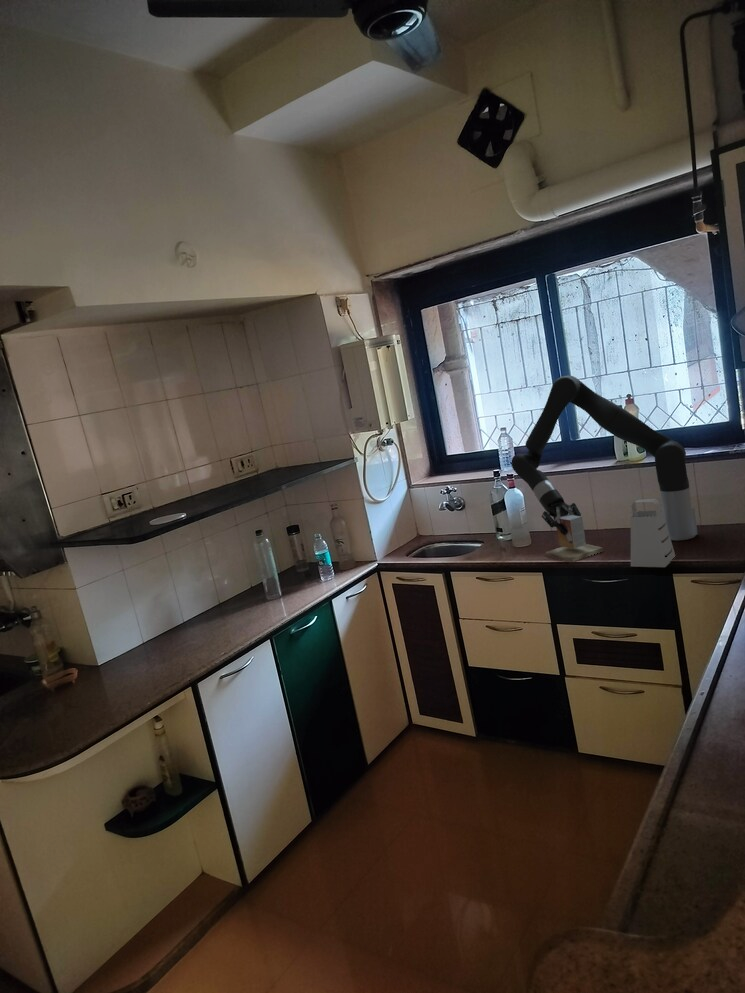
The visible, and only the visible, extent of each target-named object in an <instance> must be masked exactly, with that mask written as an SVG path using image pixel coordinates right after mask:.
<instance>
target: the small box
mask: <svg viewBox="0 0 745 993" xmlns="http://www.w3.org/2000/svg"><path fill="white" fill-rule="evenodd" d="M555 519H556V518H555ZM559 519H560V521H561V524H563V525H564V527H565V528H566V530H567V531H568V532H567V534H566V535H563V534H562V533H561V532H560V531H559V529H558V528H557V527H556V533H557V540H558V546H559V547H563V546H564V547H568V548H572V549H575V548H578V547H581V546H584V545H586V544H587V543H586V536H585V528H584V527H585V526H584V521H583V516H582V515H581V516H574V515H569V514H568V515H566V516H562V517H561V518H559Z"/></svg>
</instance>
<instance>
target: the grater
mask: <svg viewBox="0 0 745 993" xmlns="http://www.w3.org/2000/svg"><path fill="white" fill-rule="evenodd" d="M651 502H652V503H653V504H654V506H655V510H639V511H637V503H651ZM631 513H632V515H631V517H630V567H636V568H638V567H640V568H642V567H643V568H666V567H667V566H668V565H669V564H670V563H671V562H672V561H673V560H674V559H675V558H676V557H675V556H676V554H675V550H674V546H673V543H672V540H671V538H670V535H669V531H668V528H667V524H666V521H665V517H664V514H663V509H662V510H661V504H660V501H659V500H658V499H657V498H648V499H647V498H645V499H636V500H635V501H633V503H632V505H631ZM665 556H667V557H665ZM674 557H675V558H674ZM673 558H674V559H673ZM672 559H673V560H672ZM671 560H672V561H671ZM670 561H671V562H670Z"/></svg>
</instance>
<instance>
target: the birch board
mask: <svg viewBox="0 0 745 993" xmlns="http://www.w3.org/2000/svg"><path fill="white" fill-rule="evenodd" d="M603 551H604V547H602V546H596V545H593V544H589V543H586V545H584V546H581V547H578V548H575V549H572V548H568V547H564V546H559V547H557V548H555V549H554V548H553V549H551V550H548V551H545V556H546V557H548V556H549V557H548V558H551V557H553V558H552V559H555V558H556V560H559V559H560V561H563V560H564V562H567V563H574V562H577V561H580V560H582V559H586V558H588V556H589V557H592V556H595V555H598V554H601V553H604V552H603ZM600 552H601V553H600ZM597 553H598V554H597ZM594 554H595V555H594ZM591 555H592V556H591ZM579 559H580V560H579ZM576 560H577V561H576ZM573 561H574V562H573Z"/></svg>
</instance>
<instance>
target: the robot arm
mask: <svg viewBox="0 0 745 993" xmlns="http://www.w3.org/2000/svg"><path fill="white" fill-rule="evenodd" d="M570 403H571V404H573V405H574V406H576V407H578V408H580V409H582V410H583V411H584V412H585V413H587V415H589V416H590V417H591V419H592V420H594V422H595V423H596V424H598V426H600V427H601V428H602V429H603V430H605V431H607V432H608V433H610V434H611V435H613V436H614V437H616V438H618V439H620V440H623V441H625V442H626V443H630V444H632V445H635V446H637V447H639V448H641V449H643V450H644V451H646V452H647V453H649V455H651V456H652V457H654V464H655V470H656V478H657V482H658V486H659V494H660V499H661V500H660V501H661V507H662V508H661V509H662V510H663V514H664V517H665V521H666V524H667V528H668V531H669V535H670V538H671V541H685V540H690V539H693V538H695V537H696V536H697V535H698V527H697V526H698V524H697V519H696V518H697V517H696V511H695V510H696V509H695V508H694V507H693V506H692V498H691V491H690V481H689V477H688V472H687V466H686V464H687V463H686V456H687V453H686V452H687V451H686V449H685V447H684V446H683V445H682V444H681V443H679V442H678V441H675V440H674V439H672V438H670V437H667V436H666V435H664V434H661V432H658V431H656V430H655V429H653V428H652V427H650V426H649V425H647V423H646V422H644V421H642V420H641V419H640V418H638V417H637V416H635V415H633V413H631V412H629V411H627V409H624V408H623V407H621V406H620V405H618V404H616V403H614V402H613V401H611V400H609V399H607V398H606V397H603V396H601V395H600V394H598V393H596V392H595V391H593V389H591V388H590V387H588V386H587V385H586V384H585V383H583V382H582V381H581V380H580V379H578V378H577V377H575V376H574V375H564V376H560V377H558V378H557V379H556V380H554V381H553V383H552V385H551V389H550V392H549V394H548V397H547V400H546V403H545V405H544V408H543V409H542V412H541V414H540V416H539V418H538V419H537V421H536V423H535V424H534V426H533V429H532V430H531V432H530V434H529V435H528V437H527V439H526V441H525V447H526V448H527V449H528V452H527V454H526V453H516V454H514V455H513V457H512V458H511V461H510V463H511V468H512V470H513V472H515V474H516V475H518V477H519V478H520V479H522V480H523V481H524V482H525V483H526V484H527V485H528V487H529V488H530V489H531V491H532V492H533V493H534V496H535V498H536V499H537V500H538V503H540V504H541V506H542V507H543V509H544V511H543V512H542V514H541V518H542V519H543V520H544V522H546V523H547V525H548V526H549V527H550V528H556V529H557V528H558V529H559V531H560V532H561V533H562V534H563V535H566V534H567V532H568V531H567V530H566V528H565V527H564V525H563V524H561V521H560V519H559V518H561V517H562V516H566V515H574V516H582V514H581V511H580V510H579V508H578V507H577V505H576V503H575V502H572V503H571V504H567V503H566V502H565V500H564V498H563V496H562V495H561V493H560V492H559V491H558V489H557V487H555V485H554V484H553V483H552V482H551V481H550V480H549V478H548V477H547V475H546V474H545V473H544V471H541V470H540V469H538V468H539V466H540V464H541V460H542V457H543V453H544V452H543V451H544V449H545V447H546V446H547V444H548V443H549V440H550V439H551V436H552V434H553V433H554V430H555V428H556V424H557V423H558V420H559V417H560V416H561V414H562V413H563V411H564V410H565V409H566V407H567V406H568V405H569V404H570ZM555 518H556V519H555Z"/></svg>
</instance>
